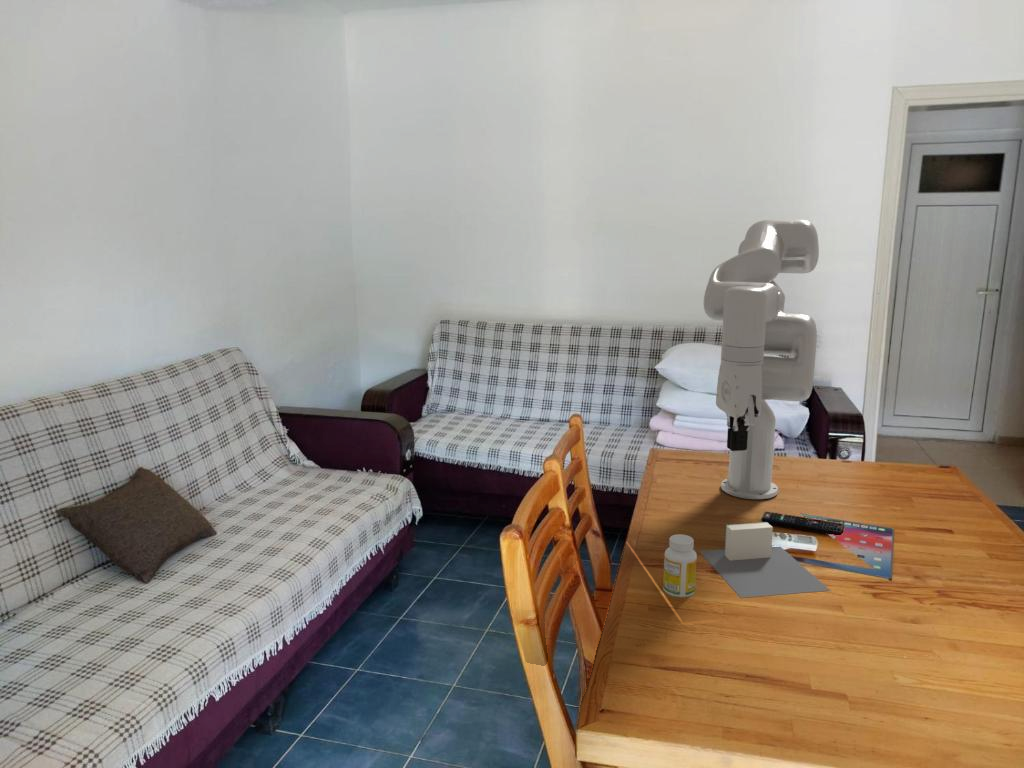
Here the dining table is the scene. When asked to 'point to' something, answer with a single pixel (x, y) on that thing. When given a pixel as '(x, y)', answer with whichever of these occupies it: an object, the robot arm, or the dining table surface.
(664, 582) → the supplement bottle
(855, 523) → the tablet
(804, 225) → the robot arm
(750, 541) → the tile
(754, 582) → the mat
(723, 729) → the dining table surface
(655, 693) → the dining table surface
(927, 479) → the dining table surface
